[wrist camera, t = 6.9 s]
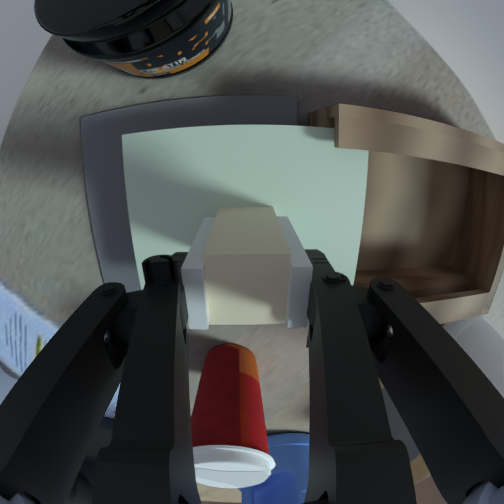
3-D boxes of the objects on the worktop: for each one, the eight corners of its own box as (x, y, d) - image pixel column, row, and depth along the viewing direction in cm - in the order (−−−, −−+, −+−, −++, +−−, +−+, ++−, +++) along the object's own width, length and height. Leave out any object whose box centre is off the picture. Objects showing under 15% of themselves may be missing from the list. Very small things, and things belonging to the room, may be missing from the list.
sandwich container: (354, 357, 30) (396, 464, 16) (419, 381, 33) (457, 456, 20) (310, 398, 33) (330, 498, 19) (380, 415, 36) (407, 489, 22)
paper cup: (189, 373, 30) (170, 480, 17) (206, 327, 27) (186, 452, 14) (252, 389, 31) (255, 493, 18) (278, 347, 29) (294, 466, 16)
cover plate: (150, 311, 20) (117, 386, 13) (126, 134, 15) (54, 140, 8) (344, 308, 21) (380, 381, 14) (364, 132, 16) (437, 136, 9)
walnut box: (302, 288, 26) (319, 340, 19) (309, 113, 20) (338, 103, 13) (450, 278, 26) (487, 313, 19) (472, 142, 20) (524, 152, 13)
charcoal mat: (111, 300, 26) (109, 302, 26) (83, 117, 19) (80, 117, 19) (290, 300, 26) (291, 303, 26) (296, 96, 19) (297, 96, 19)
